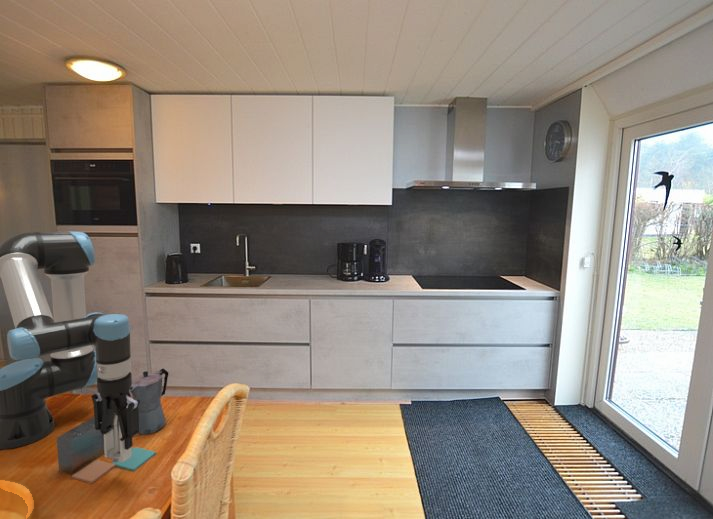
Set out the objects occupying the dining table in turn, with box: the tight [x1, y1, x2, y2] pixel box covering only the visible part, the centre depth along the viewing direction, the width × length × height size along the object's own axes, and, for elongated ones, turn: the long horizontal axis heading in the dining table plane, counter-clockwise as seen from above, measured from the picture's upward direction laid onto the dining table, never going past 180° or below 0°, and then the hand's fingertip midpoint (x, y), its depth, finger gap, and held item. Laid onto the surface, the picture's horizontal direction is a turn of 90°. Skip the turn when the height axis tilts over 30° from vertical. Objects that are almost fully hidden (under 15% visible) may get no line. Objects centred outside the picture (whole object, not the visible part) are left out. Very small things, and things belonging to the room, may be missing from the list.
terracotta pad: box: [71, 459, 116, 484], centre depth 102 cm, size 7×7×1 cm
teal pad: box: [111, 446, 157, 472], centre depth 108 cm, size 8×8×1 cm
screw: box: [107, 415, 122, 463], centre depth 98 cm, size 13×5×5 cm
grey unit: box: [56, 413, 115, 476], centre depth 108 cm, size 5×14×10 cm, turn 165°
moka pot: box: [129, 368, 169, 435], centre depth 123 cm, size 10×15×20 cm, turn 166°
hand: (118, 456), depth 99 cm, fingers closed on screw, 5 cm apart
